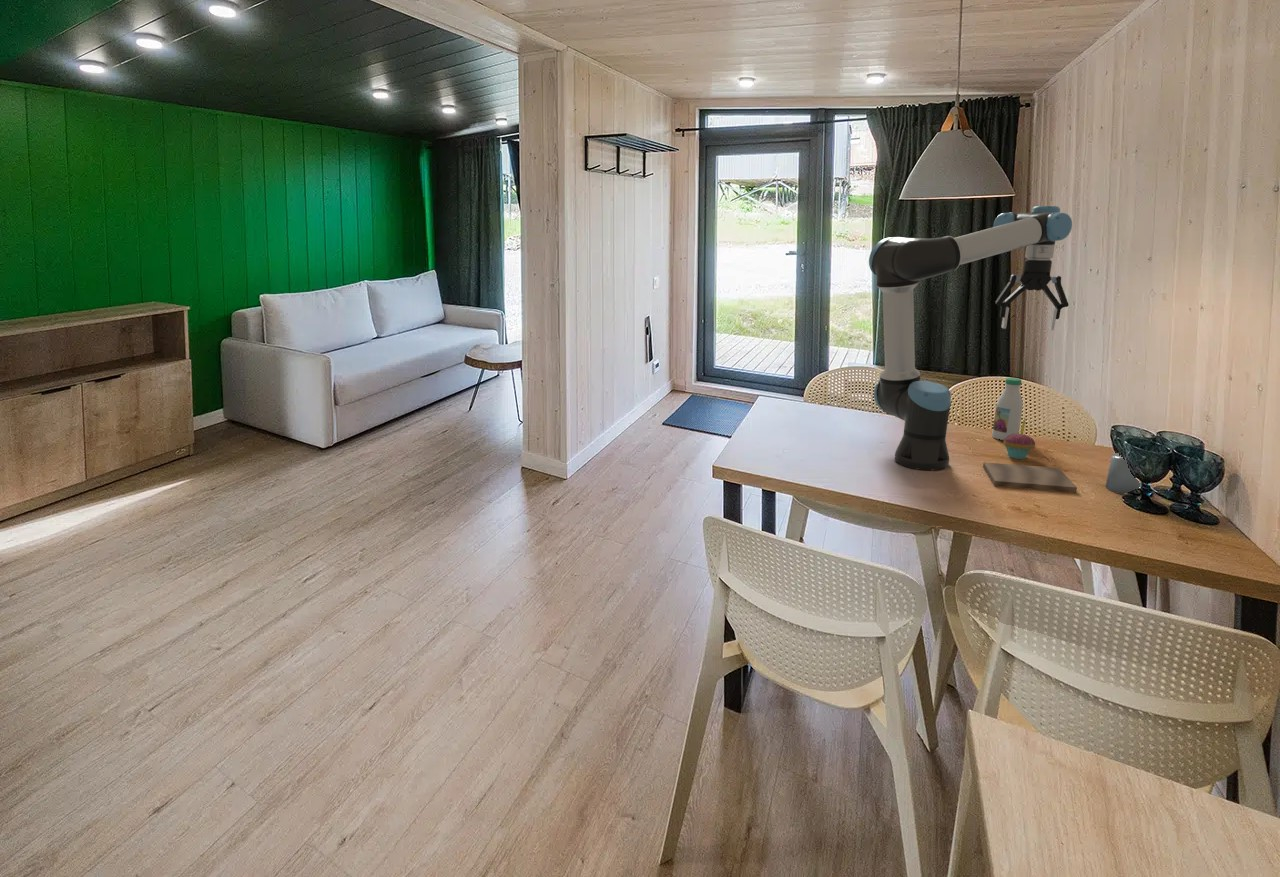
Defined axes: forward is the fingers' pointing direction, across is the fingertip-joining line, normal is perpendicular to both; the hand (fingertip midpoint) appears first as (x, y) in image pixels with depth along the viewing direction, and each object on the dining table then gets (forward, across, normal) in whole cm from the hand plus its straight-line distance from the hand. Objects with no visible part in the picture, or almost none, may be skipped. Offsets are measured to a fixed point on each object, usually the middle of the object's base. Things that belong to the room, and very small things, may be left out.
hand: (1027, 329), depth 225 cm
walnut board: (+36, -4, -39) cm, 54 cm away
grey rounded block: (+36, +19, -42) cm, 58 cm away
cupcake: (+37, -2, -18) cm, 41 cm away
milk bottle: (+37, -1, +2) cm, 37 cm away
